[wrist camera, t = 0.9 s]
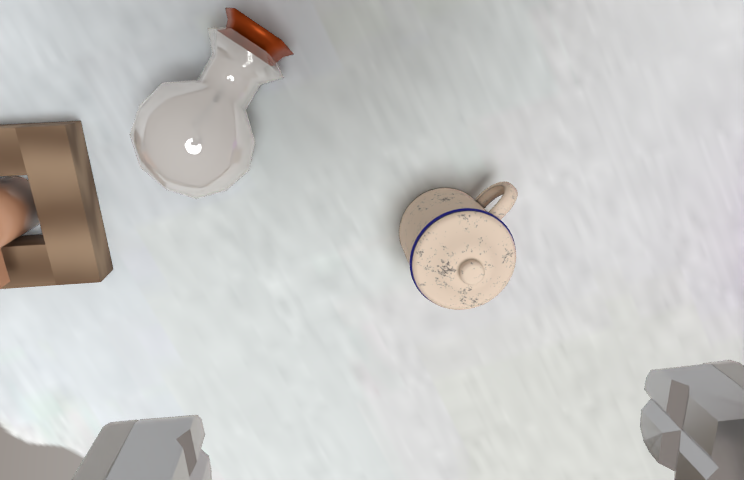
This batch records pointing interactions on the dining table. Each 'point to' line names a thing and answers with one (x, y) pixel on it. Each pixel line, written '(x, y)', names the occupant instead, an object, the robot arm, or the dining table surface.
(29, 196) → the copper mug
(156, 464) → the robot arm
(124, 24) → the dining table surface
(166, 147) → the potion bottle
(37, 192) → the holder
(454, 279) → the teacup with lid
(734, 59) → the dining table surface
